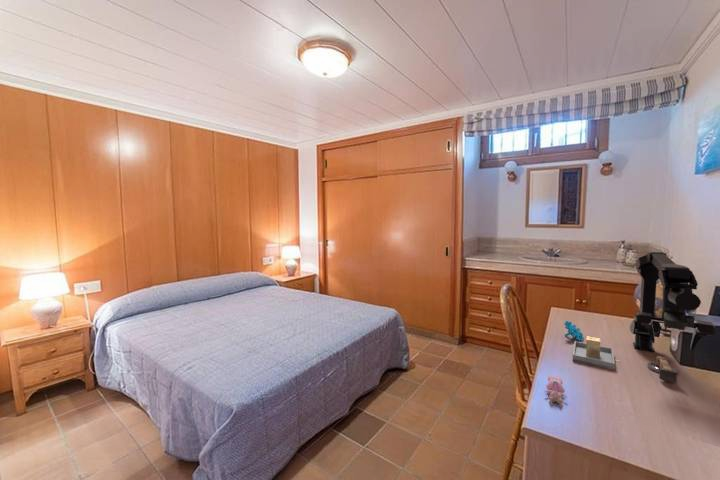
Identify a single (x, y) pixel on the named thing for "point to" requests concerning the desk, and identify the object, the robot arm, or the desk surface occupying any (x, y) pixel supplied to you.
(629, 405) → the desk surface
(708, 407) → the desk surface
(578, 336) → the blue branched piece
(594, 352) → the stop block
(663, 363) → the crank lever
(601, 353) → the stop tray
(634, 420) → the desk surface
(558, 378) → the rabbit figure
